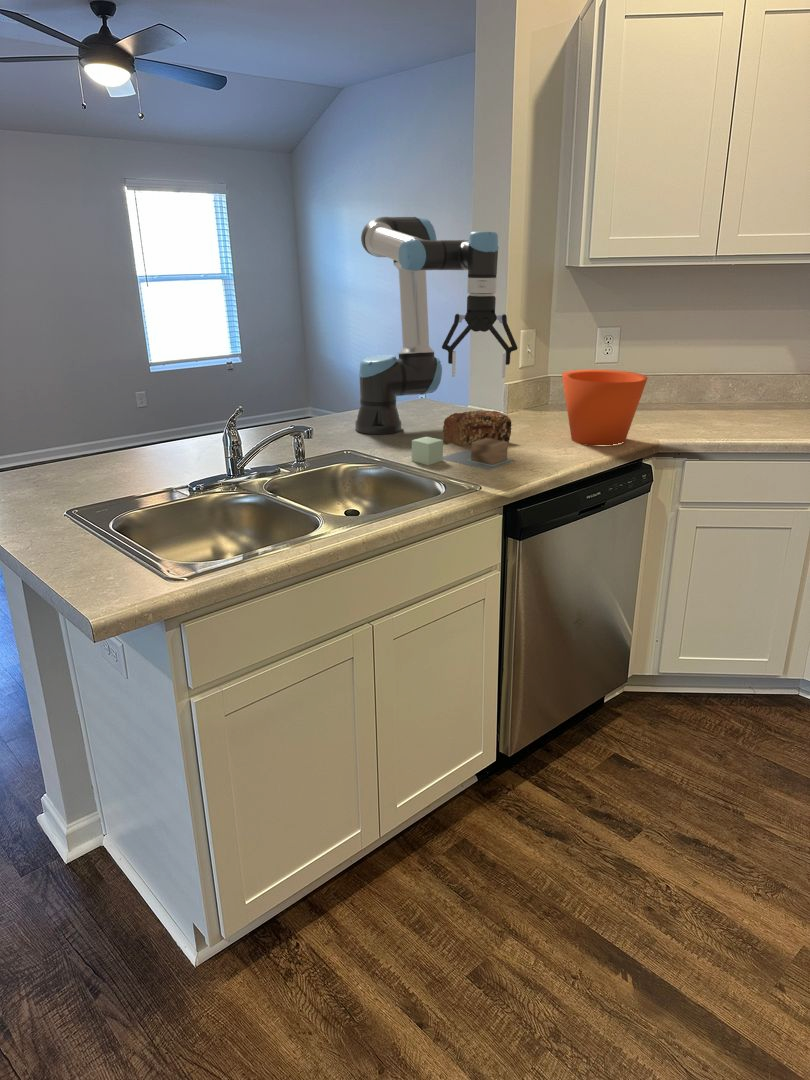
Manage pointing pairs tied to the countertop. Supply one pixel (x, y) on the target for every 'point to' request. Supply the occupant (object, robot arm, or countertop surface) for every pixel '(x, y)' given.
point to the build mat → (465, 459)
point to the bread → (476, 427)
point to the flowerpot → (601, 404)
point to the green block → (427, 450)
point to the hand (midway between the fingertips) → (478, 376)
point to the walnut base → (489, 451)
